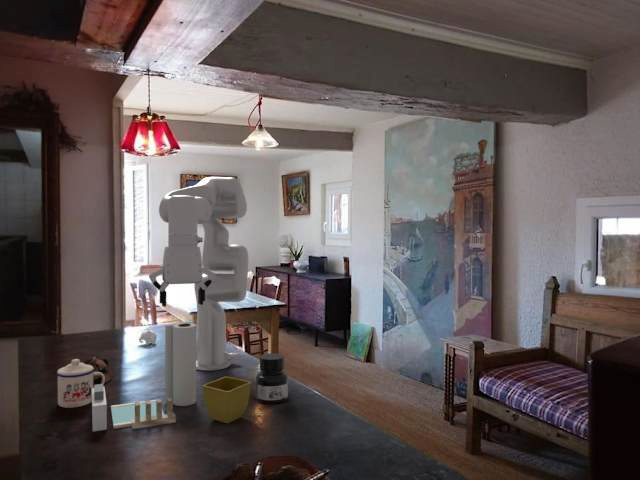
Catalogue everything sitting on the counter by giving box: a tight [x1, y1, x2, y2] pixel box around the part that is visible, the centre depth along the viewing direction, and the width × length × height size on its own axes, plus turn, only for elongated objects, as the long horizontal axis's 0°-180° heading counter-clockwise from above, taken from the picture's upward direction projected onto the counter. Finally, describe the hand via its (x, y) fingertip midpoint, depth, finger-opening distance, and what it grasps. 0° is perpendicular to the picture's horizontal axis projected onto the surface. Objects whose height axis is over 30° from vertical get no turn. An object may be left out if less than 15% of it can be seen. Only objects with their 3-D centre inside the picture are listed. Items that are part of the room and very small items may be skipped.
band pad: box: [110, 399, 165, 430], centre depth 128 cm, size 12×14×1 cm
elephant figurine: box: [138, 327, 160, 346], centre depth 202 cm, size 7×8×6 cm
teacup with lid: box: [56, 358, 106, 409], centre depth 136 cm, size 12×9×12 cm
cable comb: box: [131, 398, 177, 430], centre depth 122 cm, size 10×2×6 cm, turn 115°
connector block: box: [91, 383, 108, 433], centre depth 124 cm, size 3×14×8 cm, turn 25°
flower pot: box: [202, 376, 252, 424], centre depth 125 cm, size 9×9×9 cm
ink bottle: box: [255, 353, 289, 405], centre depth 140 cm, size 10×9×12 cm
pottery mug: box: [82, 356, 112, 383], centre depth 156 cm, size 12×10×8 cm
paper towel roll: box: [164, 322, 197, 407], centre depth 136 cm, size 7×6×21 cm
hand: (182, 305), depth 135 cm, fingers open, 9 cm apart
